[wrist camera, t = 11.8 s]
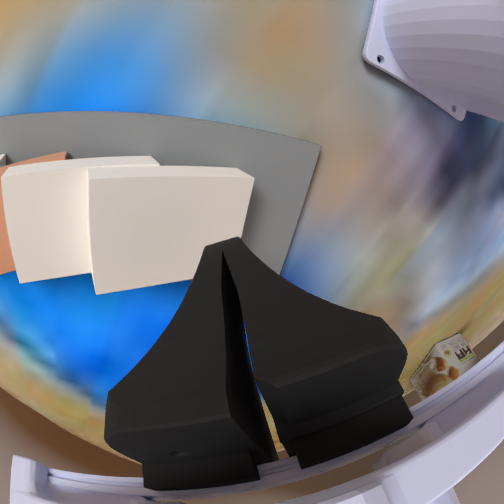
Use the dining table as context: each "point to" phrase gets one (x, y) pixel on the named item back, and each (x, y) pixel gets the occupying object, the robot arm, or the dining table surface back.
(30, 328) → the dining table surface
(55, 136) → the domino mat
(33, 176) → the domino
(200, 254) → the domino
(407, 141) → the dining table surface
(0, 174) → the domino
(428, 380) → the coffee box
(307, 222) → the dining table surface
